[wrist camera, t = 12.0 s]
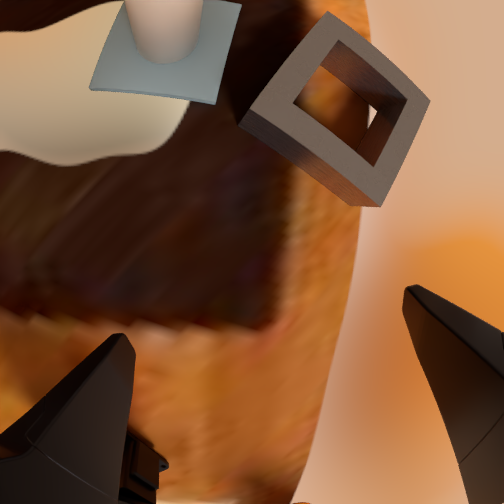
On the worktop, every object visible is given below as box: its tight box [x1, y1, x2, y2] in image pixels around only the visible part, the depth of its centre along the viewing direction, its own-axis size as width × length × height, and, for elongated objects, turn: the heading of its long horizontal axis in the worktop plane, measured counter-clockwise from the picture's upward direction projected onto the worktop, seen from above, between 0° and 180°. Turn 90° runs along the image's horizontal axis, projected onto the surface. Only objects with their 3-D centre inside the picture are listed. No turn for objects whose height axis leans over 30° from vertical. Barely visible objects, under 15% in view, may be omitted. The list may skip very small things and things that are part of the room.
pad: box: [89, 0, 241, 105], centre depth 17 cm, size 9×9×1 cm
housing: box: [238, 11, 430, 207], centre depth 18 cm, size 10×10×4 cm
